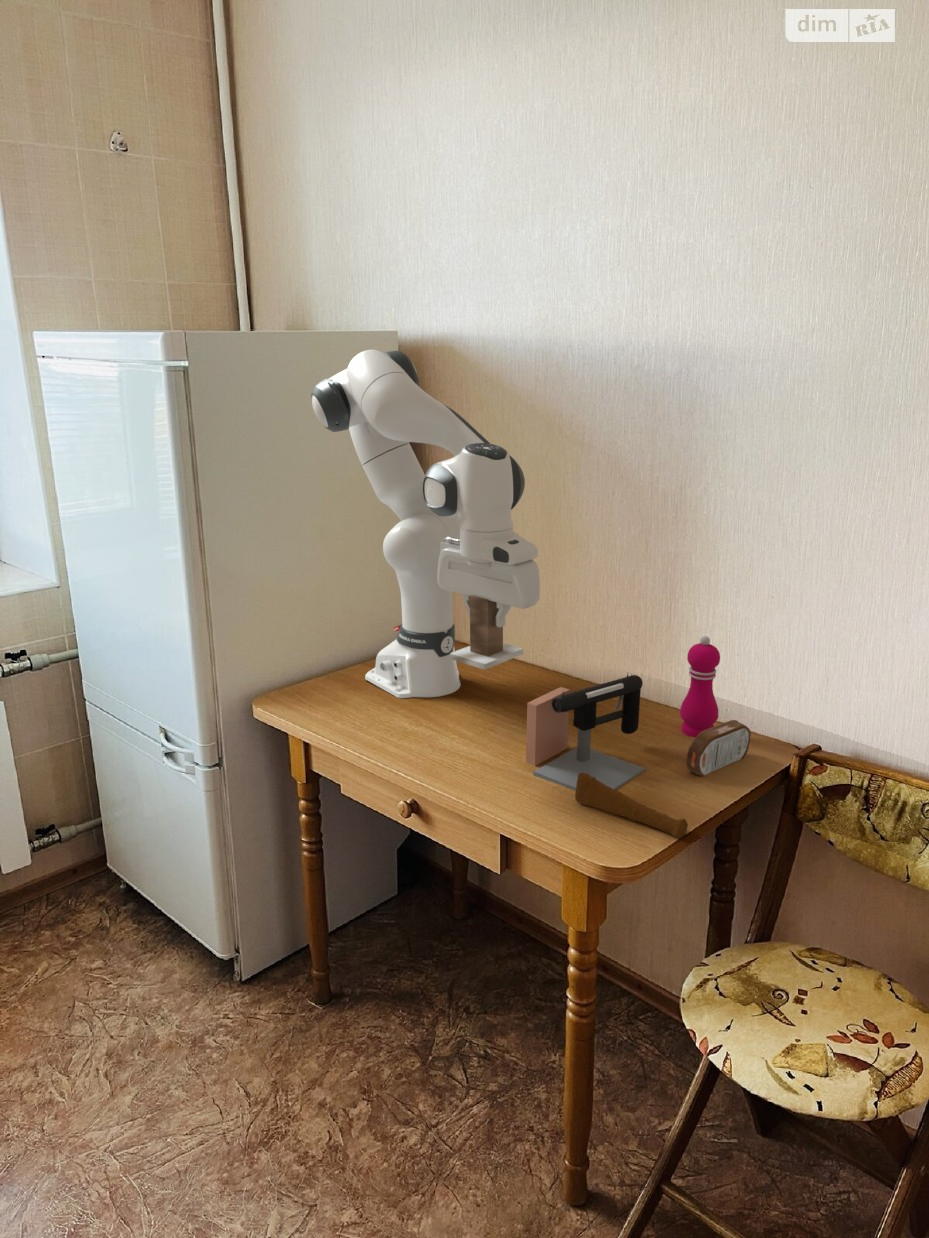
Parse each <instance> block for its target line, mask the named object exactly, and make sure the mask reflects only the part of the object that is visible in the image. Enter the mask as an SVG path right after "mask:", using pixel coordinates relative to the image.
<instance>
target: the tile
mask: <svg viewBox="0 0 929 1238" xmlns="http://www.w3.org/2000/svg"><path fill="white" fill-rule="evenodd" d="M563 691H564V694H568V693H571V692H570V691H571V690H570V688H565V687H563V686H560V687H557V688H556V689H553V690H551V691H549V692H547V693H545V694H543V695H541V696H539V697H537V698H535V699H532V700H531V701H528V702H527V703H526V705H527V707H526V708H527V709H526V747H525V748H526V749H525V751H526V753H525V755H526V756H525V762H526V764H528V765H531V766H533V767H536V766H538V765H539V764H542V763H544V761H546V760H548V759H550V758H552V757H554V756H556V755H557V754H559V753H561V752H562V751H565V750H567V749H568V747H569V744H568V743H569V718H570V715H569V714H570V711H567V712H559V713H557V712H555V711H554V710H553V707H552V700H553V699H555V698H557V697H558V696H560V695H563Z"/></svg>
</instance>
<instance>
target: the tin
mask: <svg viewBox="0 0 929 1238" xmlns="http://www.w3.org/2000/svg"><path fill="white" fill-rule="evenodd" d="M751 734H752V732H751V729H750V728H749V727H748V726H746V725H745V724H743V723H741V722H739V721H738V720H737V719H731V720H728V721H725V722H723V723H721V724H718V725H714V727H712V728H709V729H706V730H704V731H702V732H701V733H700V734H698V735H697V737H696V738H694V739H693V740H692V742H691V744H690V745H689V747H688V750H687V754H686V757H685V758H686V759H685V760H686V761H685V762H686V763H685V764H686V768H687V769H688V770H689V772H691V773H693V774H695V775H697V776H698V777H704V776H707V775H708V774H710V773H712V772H714V771H716V770H720V769H721V768H724V767H725V766H728V765H730V764H732V763H735V762H736V761H741V760H742V759H744V757H745V756H746V754H747V752H748V750H749V747H750V742H751V736H752V735H751Z"/></svg>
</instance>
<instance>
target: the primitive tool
mask: <svg viewBox="0 0 929 1238" xmlns="http://www.w3.org/2000/svg"><path fill="white" fill-rule="evenodd" d="M574 796H575V801H576V802H577V803H579V804H582V805H584V806H589V807H592V808H596V809H600V810H604V811H607V812H610V813H611V814H615V815H616V816H617V815H618V816H620V817H625V818H628V819H629V820H631V821H632V822H639V823H642V824H645V825H648V826H649V827H652V828H654V829H658V830H660V831H662V832H664V833H666V834H669V835H671V836H673V838H674V839H680V838H683V837H684V835H686V833H687V829H688V826H689V825H688V821H687V820H686V819H685V818H681V819H677V818H676V819H675V818H673V817H670V816H669V815H667V814H664V813H661V812H659V811H657V810H656V809H654V808H650V807H648V806H647V805H646V804H643V803H642V802H639V801H637V800H635V799H633V798H631V797H630V796H629V797H628V796H627V795H625V794H624V793H623V792H620V791H619V790H617V789H612V788H610V787H608V786H607V785H605V784H603V783H601V782H600V781H598V780H596V779H595V777H591V776H590V775H589V774H585V773H579V775H578V780H577V784H576V790H575V794H574Z"/></svg>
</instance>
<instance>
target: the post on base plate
mask: <svg viewBox="0 0 929 1238" xmlns="http://www.w3.org/2000/svg"><path fill="white" fill-rule="evenodd" d="M498 611H499V608H497V602H493V601H489V600H487V599H483V598H479V597H475V596H470V619H469V645H468V646H466V647H463V648H460V649H457V650H455V652H452V653H450V659H452V660H455V661H456V662H458V663H462V664H465V665H469V666H471V667H475V668H478V669H481V670H485V671H486V670H489V669H491V668H493V667H495V666H498V665H500V664H502V663H505V662H507V661H509V660H512V659H515V658H516V657H519V656H522V655H523V654H524V648H521V647H519V646H516V645H512V644H508V643H504V626H503V627H496V626H493V625H492V622H493V621H492V616H494V615H497V613H498Z"/></svg>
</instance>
